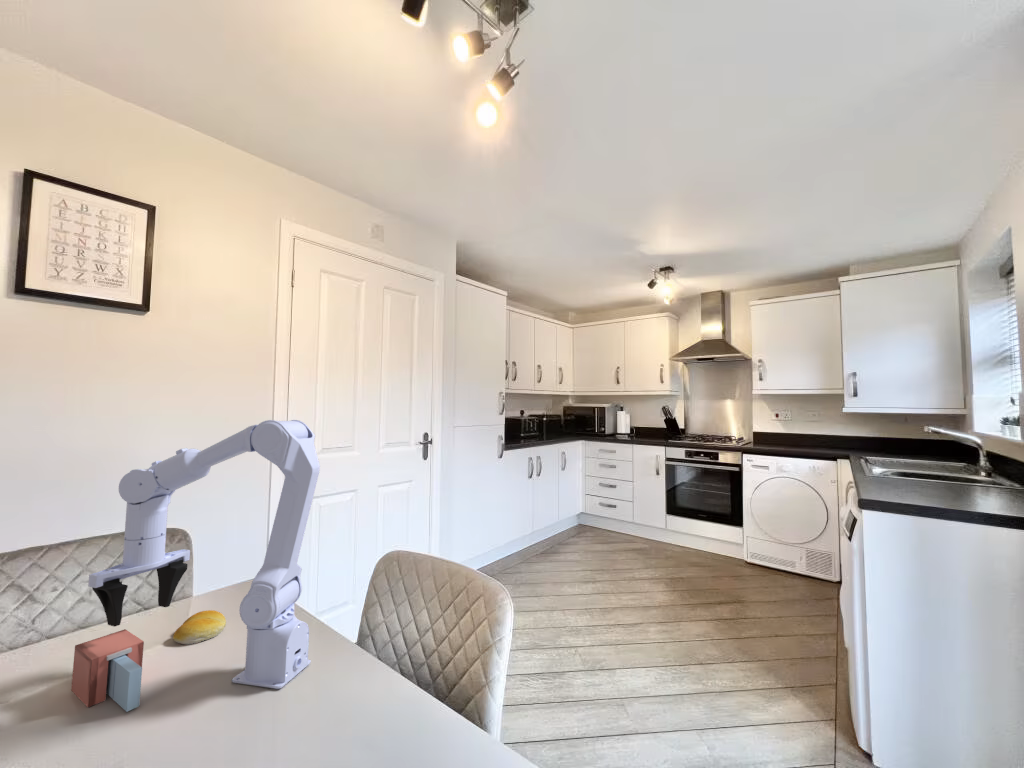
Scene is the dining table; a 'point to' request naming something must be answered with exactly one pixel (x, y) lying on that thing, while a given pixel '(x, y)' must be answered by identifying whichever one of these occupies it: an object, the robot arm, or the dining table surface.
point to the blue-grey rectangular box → (124, 682)
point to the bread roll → (200, 627)
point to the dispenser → (101, 663)
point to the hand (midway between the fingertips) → (140, 614)
